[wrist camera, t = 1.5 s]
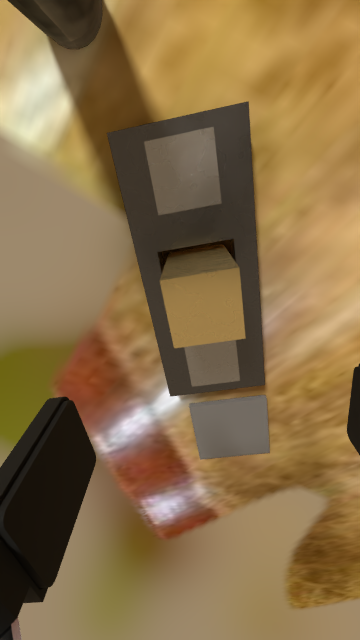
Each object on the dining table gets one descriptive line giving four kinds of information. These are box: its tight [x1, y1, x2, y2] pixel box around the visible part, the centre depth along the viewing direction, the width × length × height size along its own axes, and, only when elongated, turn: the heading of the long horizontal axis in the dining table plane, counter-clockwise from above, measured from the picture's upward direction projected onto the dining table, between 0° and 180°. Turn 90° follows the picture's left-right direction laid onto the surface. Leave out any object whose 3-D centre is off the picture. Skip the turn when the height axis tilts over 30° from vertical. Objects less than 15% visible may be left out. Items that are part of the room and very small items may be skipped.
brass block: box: [160, 244, 246, 348], centre depth 22 cm, size 5×5×9 cm
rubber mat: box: [189, 395, 270, 459], centre depth 34 cm, size 9×9×1 cm
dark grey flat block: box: [107, 102, 265, 396], centre depth 25 cm, size 10×24×3 cm, turn 10°
